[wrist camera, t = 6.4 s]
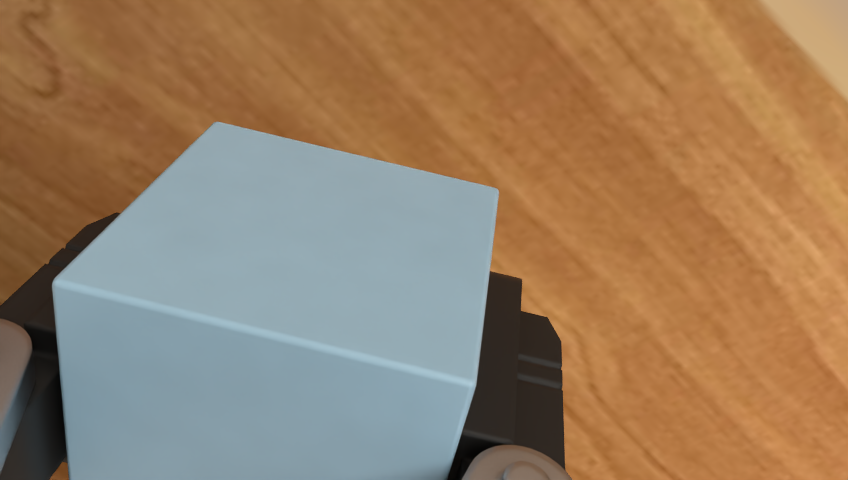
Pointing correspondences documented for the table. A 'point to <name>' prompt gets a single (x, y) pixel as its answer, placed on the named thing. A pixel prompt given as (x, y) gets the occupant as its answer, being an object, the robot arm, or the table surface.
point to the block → (276, 319)
